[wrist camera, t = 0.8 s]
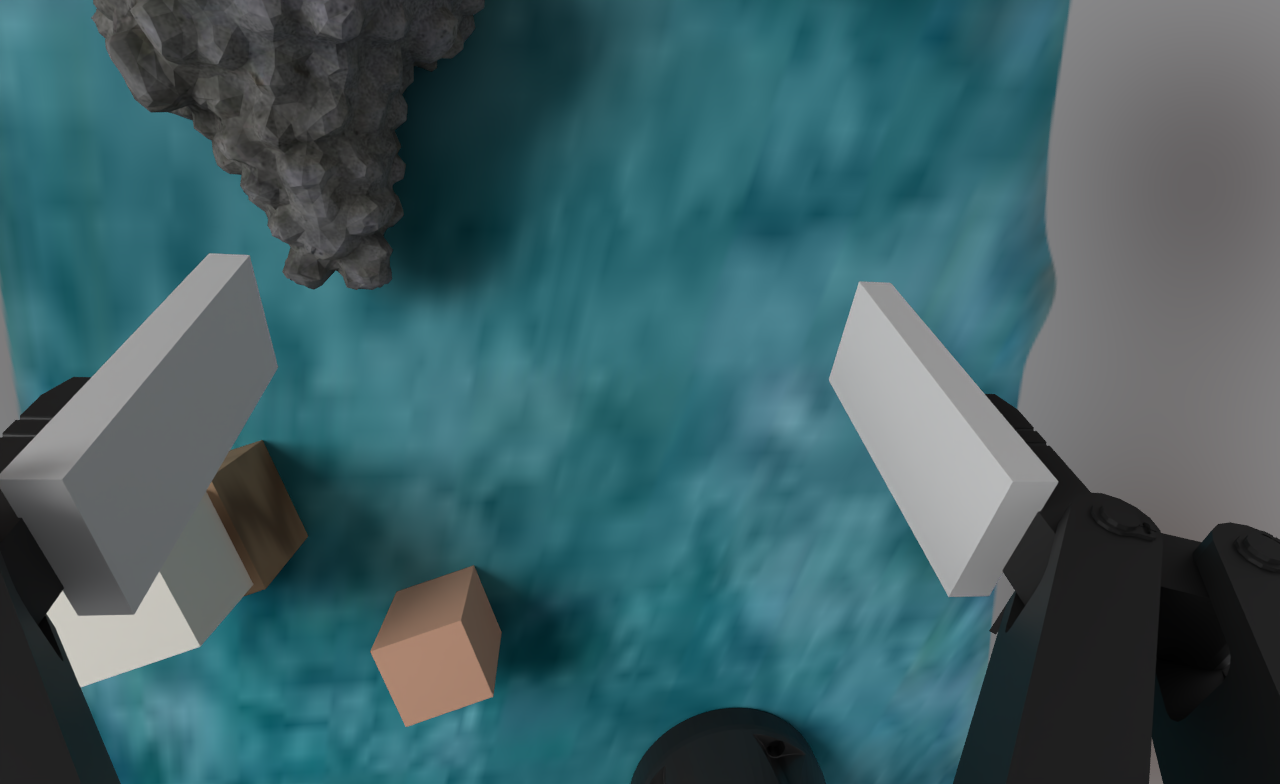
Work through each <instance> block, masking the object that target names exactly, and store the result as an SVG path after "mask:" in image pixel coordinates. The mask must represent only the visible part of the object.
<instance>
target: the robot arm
mask: <svg viewBox="0 0 1280 784" xmlns="http://www.w3.org/2000/svg"><path fill="white" fill-rule="evenodd" d="M277 368H278V365H277V361H276V357H275V353H274V350H273V346H272V342H271V338H270V334H269V330H268V326H267V322H266V318H265V314H264V310H263V306H262V302H261V298H260V294H259V290H258V286H257V283H256V279H255V275H254V271H253V267H252V263H251V259H250V255H233V254H210V253H209V254H208V255H207V256H206V257H205V258H204V260H203V261H202V262H201V263H200V264H199V265H198V266H197V267H196V268H195V269H194V270H193V271H192V272H191V273H190V274H189V275H188V276H187V277H186V278H185V280H184V281H183V282H182V283H181V284H180V285H179V286H178V287H177V288H176V289H175V290H174V291H173V292H172V293H171V294H170V295H169V296H168V297H167V298H166V300H165V301H164V302H163V303H162V304H161V305H160V306H159V307H158V308H157V309H156V310H155V311H154V312H153V313H152V314H151V315H150V316H149V317H148V318H147V320H146V321H145V322H144V323H143V324H142V325H141V326H140V327H139V328H138V329H137V330H136V331H135V332H134V333H133V334H132V335H131V336H130V337H129V338H128V340H127V341H126V342H125V343H124V344H123V345H122V346H121V347H120V348H119V349H118V350H117V351H116V352H115V353H114V354H113V355H112V356H111V357H110V358H109V360H108V361H107V362H106V363H105V364H104V365H103V366H102V367H101V368H100V369H99V370H98V371H97V372H96V373H95V374H94V375H93V376H92V377H73V378H71V379H69V380H67V381H65V382H64V383H62V384H60V385H58V386H56V387H55V388H53V389H51V390H49V391H48V392H46V393H44V394H42V395H41V396H40V397H39V398H38V399H37V400H36V401H35V402H34V403H33V404H32V405H31V406H30V407H29V408H28V409H27V410H26V411H24V412H23V413H22V414H21V415H20V420H15V422H13V423H12V424H11V425H10V426H9V427H8V428H7V429H6V430H5V431H4V432H3V437H2V438H0V784H121V783H120V781H119V779H118V776H117V774H116V772H115V769H114V767H113V764H112V762H111V760H110V757H109V755H108V752H107V750H106V748H105V745H104V743H103V740H102V738H101V736H100V733H99V731H98V728H97V726H96V724H95V721H94V719H93V717H92V714H91V712H90V709H89V707H88V705H87V702H86V700H85V697H84V695H83V693H82V690H81V688H80V685H79V683H78V681H77V678H76V676H75V673H74V671H73V669H72V666H71V664H70V662H69V659H68V657H67V654H66V652H65V650H64V647H63V645H62V642H61V640H60V638H59V635H58V633H57V630H56V628H55V626H54V625H53V623H52V622H51V620H50V618H49V617H48V615H47V614H46V613H47V612H48V611H49V609H50V608H51V606H52V605H53V603H54V602H55V601H56V599H57V598H58V596H59V595H60V594H61V592H62V591H63V592H64V594H65V595H66V597H67V599H68V600H69V602H70V604H71V605H72V607H73V608H74V610H75V612H76V613H77V615H78V616H97V615H134V614H135V613H136V611H137V609H138V607H139V606H140V604H141V602H142V600H143V599H144V597H145V595H146V594H147V592H148V590H149V588H150V587H151V585H152V583H153V582H154V580H155V578H156V576H157V575H158V573H159V571H160V569H161V568H162V566H163V564H164V563H165V561H166V559H167V557H168V556H169V554H170V552H171V551H172V549H173V547H174V545H175V544H176V542H177V540H178V539H179V537H180V535H181V533H182V532H183V530H184V528H185V526H186V525H187V523H188V521H189V520H190V518H191V516H192V514H193V513H194V511H195V509H196V508H197V506H198V504H199V502H200V501H201V499H202V497H203V495H204V494H205V492H206V490H207V489H208V487H209V485H210V483H211V482H212V480H213V478H214V477H215V475H216V473H217V471H218V470H219V468H220V466H221V465H222V463H223V461H224V459H225V458H226V456H227V454H228V452H229V451H230V449H231V447H232V446H233V444H234V442H235V440H236V439H237V437H238V435H239V434H240V432H241V430H242V428H243V427H244V425H245V423H246V421H247V420H248V418H249V416H250V415H251V413H252V411H253V409H254V408H255V406H256V404H257V403H258V401H259V399H260V397H261V396H262V394H263V392H264V391H265V389H266V387H267V385H268V384H269V382H270V380H271V378H272V377H273V375H274V373H275V372H276V370H277ZM829 381H830V383H831V385H832V387H833V388H834V390H835V392H836V394H837V396H838V398H839V399H840V401H841V403H842V405H843V407H844V408H845V410H846V412H847V414H848V416H849V417H850V419H851V421H852V423H853V425H854V426H855V428H856V430H857V432H858V434H859V435H860V437H861V439H862V441H863V443H864V445H865V446H866V448H867V450H868V452H869V454H870V455H871V457H872V459H873V461H874V463H875V464H876V466H877V468H878V470H879V472H880V473H881V475H882V477H883V479H884V481H885V482H886V484H887V486H888V488H889V490H890V492H891V493H892V495H893V497H894V499H895V501H896V502H897V504H898V506H899V508H900V510H901V511H902V513H903V515H904V517H905V519H906V520H907V522H908V524H909V526H910V528H911V529H912V531H913V533H914V535H915V537H916V539H917V540H918V542H919V544H920V546H921V548H922V549H923V551H924V553H925V555H926V557H927V558H928V560H929V562H930V564H931V566H932V567H933V569H934V571H935V573H936V575H937V577H938V578H939V580H940V582H941V584H942V586H943V587H944V589H945V591H946V593H947V595H948V596H949V597H964V596H989V595H990V594H991V592H992V590H993V589H994V587H995V585H996V584H997V582H998V580H999V578H1000V577H1001V575H1002V574H1003V573H1004V574H1005V576H1006V577H1007V579H1008V580H1009V582H1010V583H1011V585H1012V586H1013V588H1014V589H1015V592H1014V593H1013V595H1012V596H1011V598H1010V599H1009V601H1008V602H1007V604H1006V606H1005V607H1004V609H1003V610H1002V612H1001V613H1000V615H999V617H998V618H997V620H996V621H995V623H994V624H993V626H992V627H991V629H990V632H992V633H994V634H996V633H997V632H998V634H997V638H996V641H995V645H994V648H993V651H992V654H991V658H990V661H989V664H988V668H987V671H986V675H985V678H984V681H983V685H982V688H981V691H980V695H979V698H978V701H977V705H976V708H975V711H974V715H973V718H972V722H971V725H970V728H969V732H968V735H967V738H966V742H965V745H964V748H963V752H962V755H961V758H960V762H959V765H958V769H957V772H956V775H955V779H954V782H953V784H1149V773H1150V757H1151V739H1153V744H1154V748H1155V752H1156V756H1157V760H1158V764H1159V768H1160V772H1161V776H1162V780H1163V784H1280V539H1278V538H1274V537H1273V536H1272V535H1270V534H1268V533H1266V532H1264V531H1260V530H1257V529H1254V528H1252V527H1249V526H1247V525H1241V524H1235V523H1224V524H1218V525H1217V526H1216V527H1215V528H1214V529H1213V530H1212V531H1211V532H1210V533H1209V534H1208V536H1207V537H1206V538H1205V539H1204V540H1203V542H1198V541H1193V540H1188V539H1184V538H1180V537H1176V536H1171V535H1167V534H1163V533H1161V532H1160V530H1159V528H1158V527H1157V526H1156V525H1155V523H1154V522H1153V521H1152V520H1151V519H1150V518H1149V517H1148V516H1147V515H1145V514H1144V513H1143V512H1141V511H1140V510H1139V509H1138V508H1136V507H1134V506H1132V505H1130V504H1128V503H1127V502H1125V501H1123V500H1121V499H1118V498H1115V497H1112V496H1109V495H1106V494H1102V493H1091V492H1090V491H1089V490H1088V489H1087V488H1086V486H1085V485H1084V484H1083V483H1082V482H1081V481H1080V480H1079V478H1078V477H1077V476H1076V475H1075V474H1074V473H1073V472H1072V471H1071V469H1069V467H1068V466H1067V465H1066V464H1065V463H1064V461H1063V460H1062V459H1061V458H1060V457H1059V456H1058V455H1057V454H1056V452H1055V451H1053V449H1052V448H1051V447H1050V446H1046V441H1045V440H1044V439H1043V438H1042V437H1041V436H1040V434H1039V433H1038V432H1037V431H1033V427H1032V425H1031V424H1030V423H1029V422H1028V421H1027V420H1026V418H1025V417H1024V416H1023V415H1022V414H1021V413H1020V412H1019V411H1018V410H1017V409H1016V408H1014V407H1013V406H1011V405H1010V404H1008V403H1007V402H1005V401H1004V400H1003V399H1001V398H1000V397H998V396H997V395H995V394H984V393H983V392H982V390H981V389H980V388H979V387H978V386H977V385H976V383H975V382H974V381H973V380H972V379H971V377H970V376H969V375H968V374H967V373H966V372H965V370H964V369H963V368H962V367H961V366H960V364H959V363H958V362H957V361H956V360H955V359H954V357H953V356H952V355H951V354H950V353H949V351H948V350H947V349H946V348H945V347H944V346H943V344H942V343H941V342H940V341H939V340H938V338H937V337H936V336H935V335H934V334H933V333H932V331H931V330H930V329H929V328H928V327H927V325H926V324H925V323H924V322H923V321H922V319H921V318H920V317H919V316H918V315H917V314H916V312H915V311H914V310H913V309H912V308H911V306H910V305H909V304H908V303H907V302H906V301H905V299H904V298H903V297H902V296H901V295H900V293H899V292H898V291H897V290H896V289H895V288H894V286H893V285H892V284H891V283H880V282H859V284H858V287H857V290H856V294H855V297H854V300H853V303H852V307H851V310H850V313H849V316H848V319H847V323H846V326H845V329H844V332H843V336H842V339H841V342H840V345H839V348H838V352H837V355H836V358H835V361H834V365H833V368H832V371H831V374H830V378H829ZM631 784H826V783H825V779H824V776H823V773H822V771H821V769H820V766H819V764H818V762H817V760H816V758H815V756H814V754H813V752H812V750H811V748H810V746H809V745H808V743H807V742H806V740H805V739H804V737H803V736H802V735H801V734H800V733H799V732H798V731H797V730H796V729H795V728H794V727H793V726H791V725H790V724H788V723H787V722H786V721H784V720H782V719H780V718H778V717H776V716H774V715H772V714H769V713H766V712H763V711H758V710H753V709H745V708H727V709H719V710H714V711H709V712H705V713H702V714H699V715H696V716H694V717H691V718H689V719H687V720H685V721H683V722H681V723H679V724H678V725H676V726H674V727H673V728H671V729H670V730H669V731H667V732H666V733H665V734H663V735H662V736H661V737H660V738H659V739H658V740H657V741H656V742H655V743H654V744H653V745H652V746H651V747H650V748H649V749H648V751H647V752H646V753H645V754H644V756H643V757H642V759H641V761H640V762H639V764H638V766H637V768H636V770H635V772H634V775H633V777H632V781H631Z"/></svg>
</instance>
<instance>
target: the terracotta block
mask: <svg viewBox="0 0 1280 784" xmlns="http://www.w3.org/2000/svg"><path fill="white" fill-rule="evenodd" d="M501 633H502V632H501V630H500V627H499V625H498V623H497V620H496V618H495V615H494V613H493V610H492V608H491V605H490V603H489V601H488V598H487V596H486V593H485V591H484V588H483V586H482V584H481V581H480V579H479V576H478V574H477V571H476V569H475V567H474V566H471V567H468V568H465V569H462V570H459V571H456V572H453V573H450V574H447V575H444V576H441V577H438V578H435V579H432V580H430V581H427V582H424V583H421V584H418V585H415V586H412V587H409V588H406V589H403V590H400V591H397V592H396V594H395V596H394V599H393V601H392V603H391V606H390V608H389V610H388V612H387V615H386V617H385V619H384V622H383V624H382V626H381V628H380V631H379V633H378V635H377V637H376V640H375V642H374V644H373V647H372V649H371V651H370V652H371V654H372V656H373V658H374V660H375V662H376V665H377V667H378V669H379V671H380V673H381V675H382V677H383V679H384V682H385V684H386V686H387V688H388V690H389V692H390V694H391V696H392V699H393V701H394V703H395V705H396V707H397V709H398V711H399V713H400V716H401V718H402V720H403V722H404V724H405V726H406V727H408V726H410V725H413V724H416V723H419V722H422V721H425V720H428V719H430V718H433V717H436V716H439V715H442V714H445V713H448V712H450V711H453V710H456V709H459V708H462V707H465V706H468V705H470V704H473V703H476V702H479V701H482V700H485V699H488V698H490V697H493V694H494V687H495V679H496V671H497V664H498V656H499V648H500V641H501Z"/></svg>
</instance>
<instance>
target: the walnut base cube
mask: <svg viewBox="0 0 1280 784" xmlns="http://www.w3.org/2000/svg"><path fill="white" fill-rule="evenodd" d="M206 492H207V494H208V496H209V498H210V500H211V502H212V504H213V506H214V508H215V510H216V512H217V514H218V516H219V518H220V520H221V522H222V523H223V525H224V527H225V529H226V531H227V533H228V535H229V537H230V539H231V541H232V543H233V545H234V547H235V549H236V551H237V553H238V555H239V557H240V559H241V561H242V563H243V565H244V567H245V569H246V571H247V573H248V575H249V577H250V579H251V581H252V583H253V586H252V587H251V588H250V589H249V590H248V591H247V593H246V594H245V595H244V596H246V595H249V594H252V593H255V592H258V591H261V590H264V589H266V588H267V587H268V585H269V584H270V583H271V582H272V580H273V579H274V578H275V577H276V576H277V574H278V573H279V572H280V571H281V569H282V568H283V567H284V566H285V564H286V563H287V562H288V561H289V559H290V558H291V557H292V556H293V555H294V553H295V552H296V551H297V550H298V548H299V547H300V546H301V545H302V543H303V542H304V541H305V540H306V538H307V537H308V535H307V532H306V530H305V528H304V526H303V524H302V522H301V520H300V518H299V516H298V514H297V511H296V509H295V507H294V505H293V503H292V501H291V499H290V497H289V495H288V493H287V490H286V488H285V486H284V484H283V482H282V480H281V478H280V476H279V474H278V471H277V469H276V467H275V465H274V463H273V461H272V459H271V457H270V455H269V453H268V450H267V448H266V446H265V444H264V442H263V440H261V441H258V442H255V443H252V444H249V445H246V446H243V447H240V448H237V449H234V450H230V451H229V452H228V454H227V456H226V458H225V459H224V461H223V463H222V465H221V466H220V468H219V470H218V471H217V473H216V475H215V477H214V478H213V480H212V482H211V483H210V485H209V487H208V489H207V490H206Z"/></svg>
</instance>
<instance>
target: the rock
mask: <svg viewBox="0 0 1280 784" xmlns="http://www.w3.org/2000/svg"><path fill="white" fill-rule="evenodd" d="M484 1H485V0H93V4H94V5H95V6H96V8H97V9H96V13H95V14H94V15H93V17H92V19H93V21H94V22H95V23H96V26H97V28H98V31H99V33H100V34H101V35H102V36H103V37H105V38H106V39H105V43H106V49H107V51H108V54H109V56H110V58H111V60H112V61H113V63H114V64H115V66H116V67H117V68H118V70H119V71H120V73H121V74H122V76H123V78H124V80H125V82H126V84H127V86H128V88H129V89H130V91H131V93H132V95H133V97H134V99H135V100H136V101H138V102H139V103H140V104H141V105H142V106H144V107H145V108H146V109H147V110H149V111H150V112H169V113H173V114H176V115H179V116H182V117H184V118H187V119H190V120H193V124H194V129H196V130H197V131H198V132H200V133H201V134H202V135H204V136H205V137H207V138H208V139H210V140H212V147H213V153H214V156H215V159H216V162H217V165H218V166H219V167H220V168H222V169H223V170H224V171H226V172H228V173H229V174H239V175H242V177H241V184H240V186H241V188H242V189H243V190H244V192H245V193H246V194H247V195H248V196H249V200H250V201H251V202H252V203H254V204H255V205H256V206H258V207H259V208H261V209H262V210H263V211H265V213H266V215H267V217H268V227H269V228H270V230H271V233H272V236H274V237H276V238H278V239H280V240H281V241H283V242H285V243H288V244H289V245H290V247H291V248H290V251H289V255H288V258H287V259H286V261H285V266H284V269H283V271H282V272H283V273H284V275H285V276H286V278H290V280H293V281H294V282H295V283H297V284H300V285H305V286H306V287H308V288H311V289H316V288H318V287H320V286H322V285H323V284H324V282H325V281H326V280H327V279H328V278H329V277H330V276H331V275H332V274H333V273H334V272H335V270H336V271H338V272H339V273H340V274H341V275H342V276H343V278H344V281H345V283H346V286H347V287H348V288H352V289H356V290H357V289H371V290H373V289H375V288H377V287H382V286H383V285H384V284H388V283H389V282H390V281H391V280H392V272H391V268H390V259H389V258H390V256H391V254H392V252H393V249H392V248H391V246H390V245H389V244H388V242H387V241H386V239H385V238H384V237H383V236H384V233H385V231H386V229H387V228H388V227H393V226H394V225H395V224H396V223H397V222H398V221H399V220H400V219H401V218H402V217H403V216H404V213H403V208H402V205H401V203H400V200H399V197H398V196H397V195H396V194H395V193H394V191H393V188H392V186H393V184H394V183H396V182H398V181H400V180H402V179H404V173H405V167H406V164H405V163H404V162H403V160H402V159H401V158H400V157H399V155H398V154H397V153H398V152H399V150H400V148H401V144H400V142H399V140H398V138H397V135H396V133H395V130H396V129H397V128H398V127H399V126H400V125H401V124H403V123H404V122H405V121H406V120H407V107H408V105H407V103H406V101H405V99H404V97H403V95H402V94H403V92H404V91H405V90H406V88H407V87H408V86H409V85H410V84H411V83H412V82H413V80H414V66H417V67H420V68H423V69H426V70H428V71H431V72H432V71H433V70H435V69H436V68H437V60H439V59H441V58H453V57H454V56H456V55H457V54H458V53H459V52H460V51H462V50H463V45H464V42H465V41H466V39H467V38H468V37H469V36H470V35H471V33H472V32H473V31H474V29H475V23H474V18H473V15H474V14H476V13H478V12H479V11H481V10H482V9H484Z"/></svg>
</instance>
